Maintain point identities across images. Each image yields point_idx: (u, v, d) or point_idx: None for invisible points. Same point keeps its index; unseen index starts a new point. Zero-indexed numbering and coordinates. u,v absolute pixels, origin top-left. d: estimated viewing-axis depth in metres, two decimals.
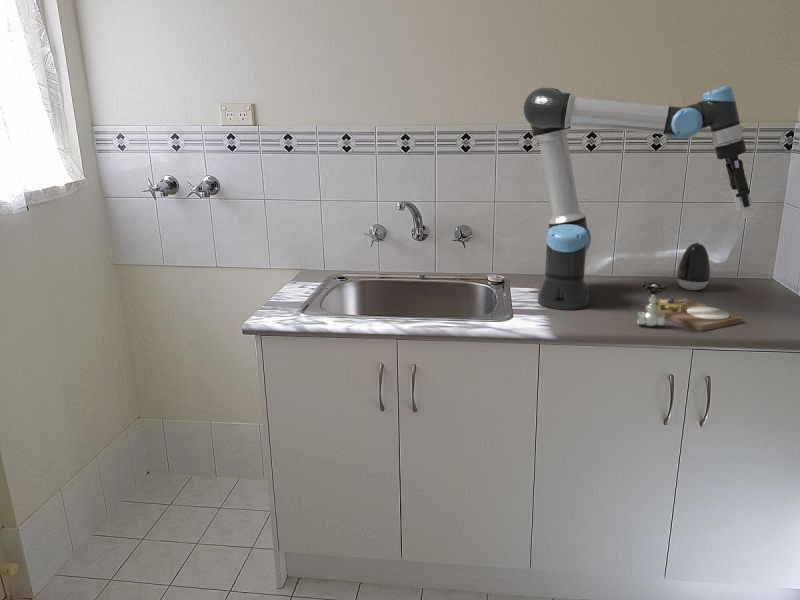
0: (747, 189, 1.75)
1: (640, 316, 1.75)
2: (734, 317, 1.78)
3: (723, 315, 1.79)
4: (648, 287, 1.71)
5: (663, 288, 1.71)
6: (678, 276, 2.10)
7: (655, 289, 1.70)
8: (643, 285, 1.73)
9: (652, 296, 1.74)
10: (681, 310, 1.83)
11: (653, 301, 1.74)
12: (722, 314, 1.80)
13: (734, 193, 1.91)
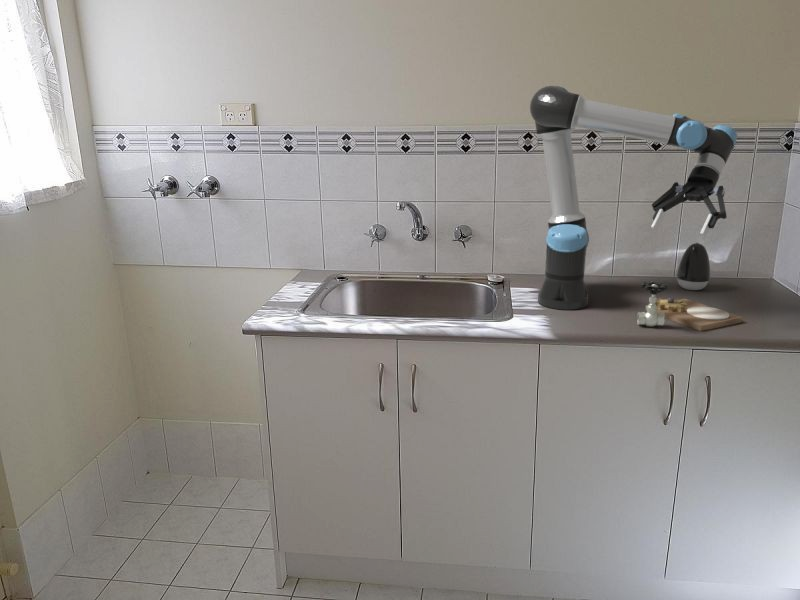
0: (726, 215, 1.72)
1: (640, 316, 1.75)
2: (734, 317, 1.78)
3: (723, 315, 1.79)
4: (648, 287, 1.71)
5: (663, 288, 1.71)
6: (678, 276, 2.10)
7: (655, 289, 1.70)
8: (643, 285, 1.73)
9: (652, 296, 1.74)
10: (681, 310, 1.83)
11: (653, 301, 1.74)
12: (722, 314, 1.80)
13: (661, 212, 1.82)
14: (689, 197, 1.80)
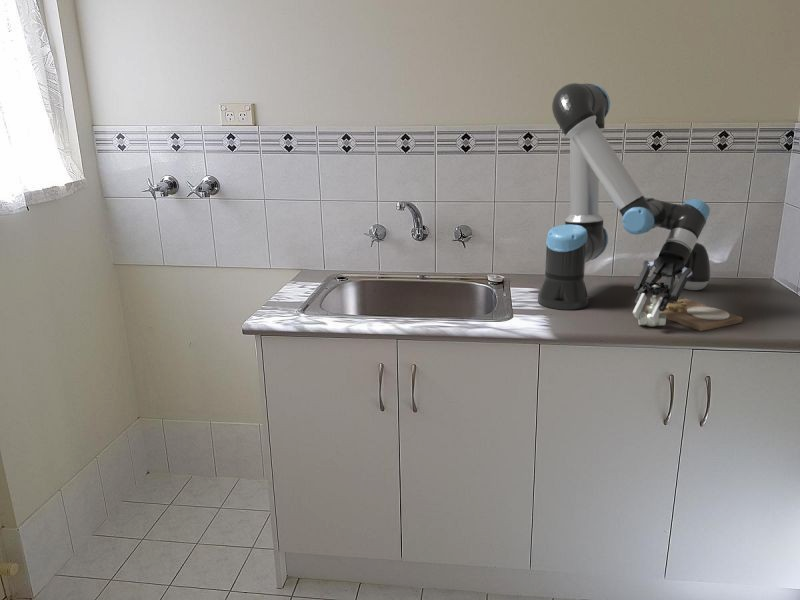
0: (677, 299, 1.72)
1: (641, 317, 1.75)
2: (734, 317, 1.78)
3: (723, 315, 1.79)
4: (650, 288, 1.71)
5: (665, 289, 1.70)
6: (678, 276, 2.10)
7: (657, 290, 1.70)
8: (644, 286, 1.73)
9: (653, 297, 1.73)
10: (681, 310, 1.83)
11: (654, 302, 1.73)
12: (722, 314, 1.80)
13: (643, 297, 1.75)
14: (660, 273, 1.77)
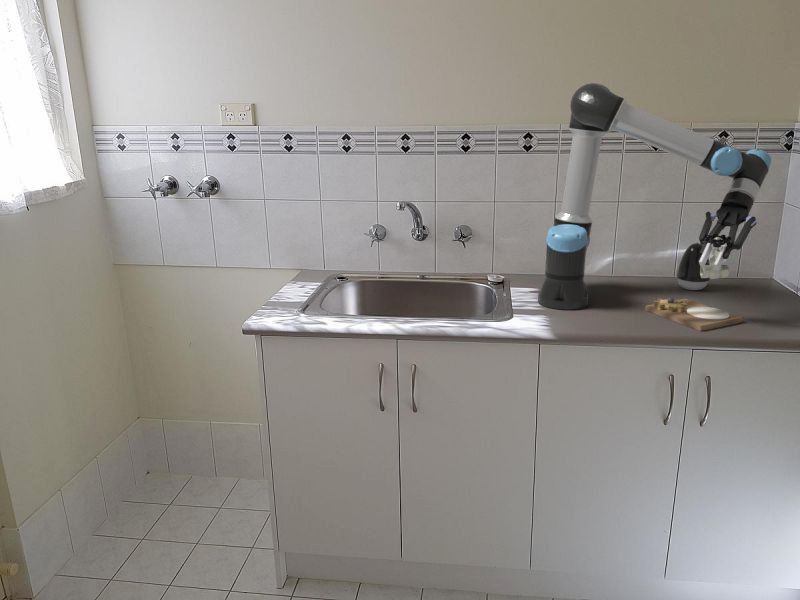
0: (740, 246, 1.73)
1: (704, 269, 1.77)
2: (734, 317, 1.78)
3: (723, 315, 1.79)
4: (712, 241, 1.73)
5: (727, 241, 1.72)
6: (678, 276, 2.10)
7: (720, 242, 1.72)
8: (706, 239, 1.75)
9: (716, 249, 1.76)
10: (681, 310, 1.83)
11: (717, 254, 1.76)
12: (722, 314, 1.80)
13: (709, 246, 1.76)
14: (723, 223, 1.78)
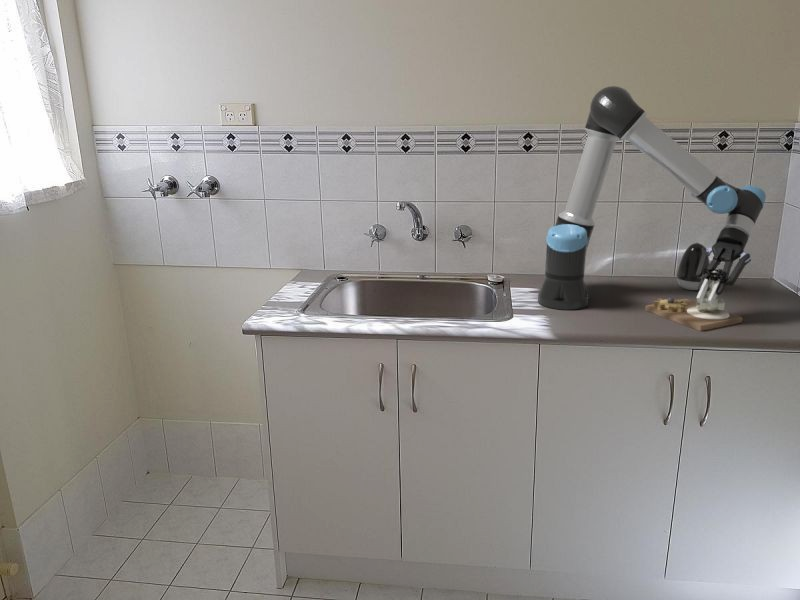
0: (733, 283, 1.77)
1: (701, 302, 1.80)
2: (734, 317, 1.78)
3: (723, 315, 1.79)
4: (710, 273, 1.77)
5: (725, 274, 1.76)
6: (678, 276, 2.10)
7: (717, 275, 1.76)
8: (704, 272, 1.79)
9: (713, 282, 1.79)
10: (681, 310, 1.83)
11: None
12: (722, 314, 1.80)
13: (706, 282, 1.79)
14: (719, 258, 1.82)
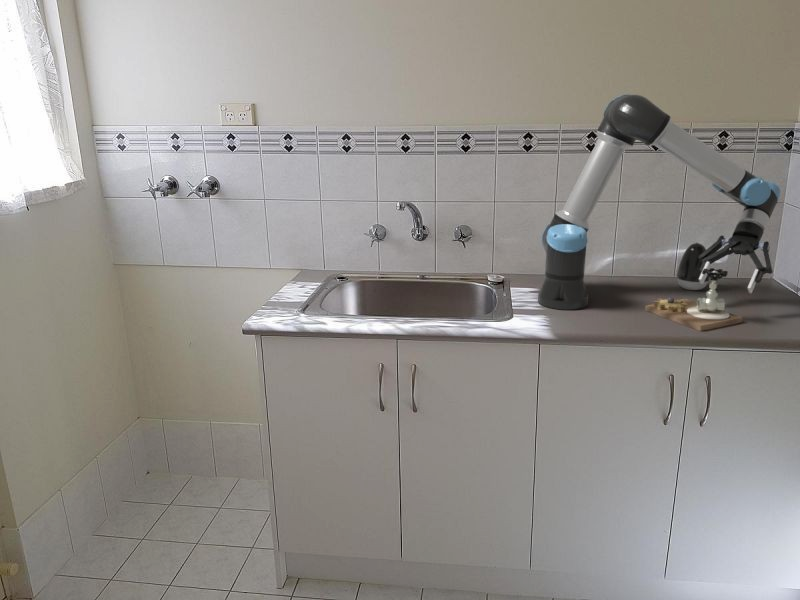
0: None
1: (701, 302, 1.80)
2: (734, 317, 1.78)
3: (723, 315, 1.79)
4: (710, 273, 1.77)
5: (724, 274, 1.76)
6: (678, 276, 2.10)
7: (717, 275, 1.76)
8: (704, 271, 1.79)
9: (712, 282, 1.79)
10: (681, 310, 1.83)
11: (714, 287, 1.79)
12: (722, 314, 1.80)
13: (708, 265, 1.91)
14: (735, 251, 1.89)
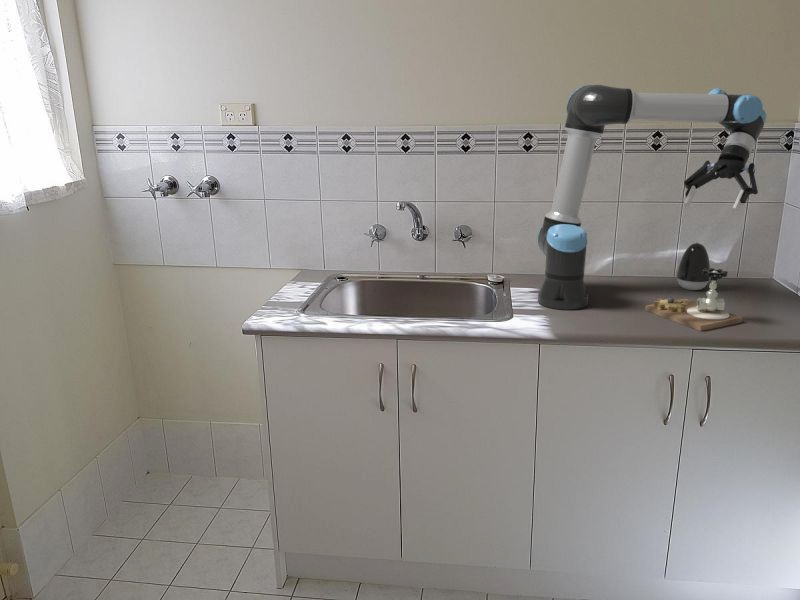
0: (757, 190, 1.80)
1: (701, 302, 1.80)
2: (734, 317, 1.78)
3: (723, 315, 1.79)
4: (710, 273, 1.77)
5: (724, 274, 1.76)
6: (678, 276, 2.10)
7: (717, 275, 1.76)
8: (704, 271, 1.79)
9: (713, 282, 1.79)
10: (681, 310, 1.83)
11: (714, 287, 1.79)
12: (722, 314, 1.80)
13: (693, 189, 1.89)
14: (721, 174, 1.88)
